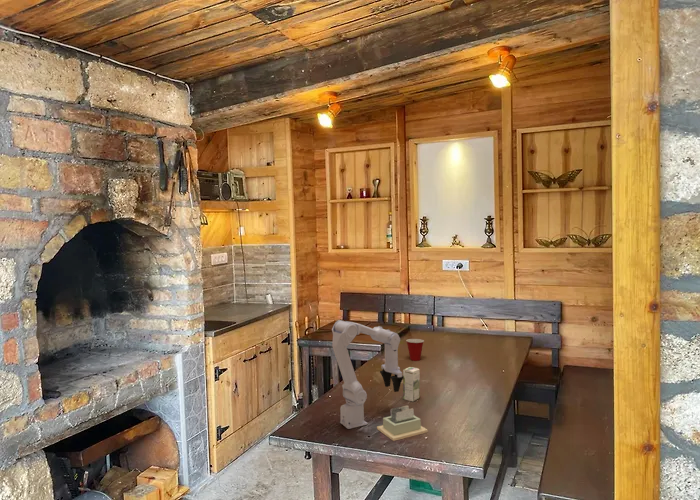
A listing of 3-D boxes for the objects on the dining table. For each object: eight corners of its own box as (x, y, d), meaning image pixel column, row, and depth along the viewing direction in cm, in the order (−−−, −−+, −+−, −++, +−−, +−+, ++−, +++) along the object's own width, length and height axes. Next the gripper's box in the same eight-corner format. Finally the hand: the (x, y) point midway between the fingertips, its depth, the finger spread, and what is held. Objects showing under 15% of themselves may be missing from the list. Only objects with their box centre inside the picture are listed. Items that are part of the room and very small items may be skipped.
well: (393, 441, 202) (393, 428, 201) (376, 429, 213) (376, 417, 213) (427, 432, 209) (427, 420, 208) (409, 421, 220) (409, 409, 220)
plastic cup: (427, 358, 314) (426, 338, 313) (421, 362, 304) (420, 342, 303) (410, 356, 319) (409, 336, 318) (403, 361, 309) (403, 341, 308)
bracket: (396, 432, 207) (396, 412, 207) (391, 428, 211) (390, 408, 211) (413, 428, 211) (413, 408, 210) (407, 424, 215) (407, 405, 214)
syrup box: (409, 396, 250) (409, 366, 249) (420, 398, 247) (419, 368, 245) (403, 399, 246) (402, 369, 245) (413, 402, 242) (413, 371, 241)
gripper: (408, 361, 225) (408, 392, 226) (390, 353, 238) (391, 382, 239) (393, 363, 222) (394, 395, 222) (377, 355, 234) (377, 385, 235)
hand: (392, 388), depth 230 cm, fingers open, 7 cm apart
